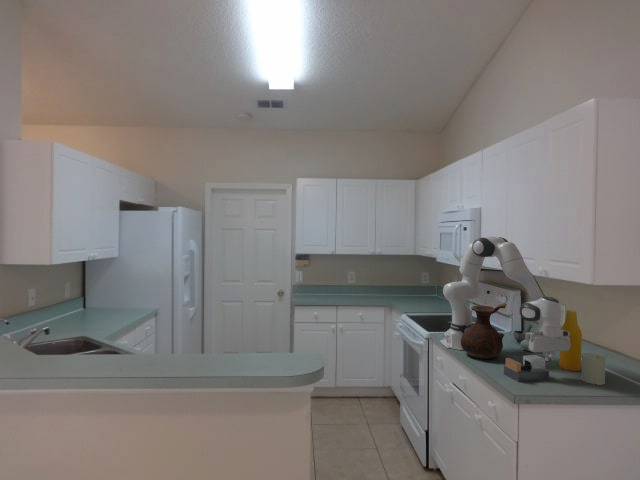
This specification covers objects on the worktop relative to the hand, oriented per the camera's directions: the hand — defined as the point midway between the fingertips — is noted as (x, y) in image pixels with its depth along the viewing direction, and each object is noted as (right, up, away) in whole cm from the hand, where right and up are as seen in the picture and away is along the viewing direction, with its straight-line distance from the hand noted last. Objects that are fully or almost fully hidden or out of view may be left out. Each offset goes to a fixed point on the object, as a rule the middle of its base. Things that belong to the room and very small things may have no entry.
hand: (548, 360), depth 190 cm
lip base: (-12, -7, -3) cm, 14 cm away
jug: (-20, -7, +29) cm, 36 cm away
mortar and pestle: (+16, -7, +57) cm, 59 cm away
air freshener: (+13, -7, +42) cm, 44 cm away
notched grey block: (-8, -3, -2) cm, 9 cm away
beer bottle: (+17, -7, +11) cm, 21 cm away
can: (+16, -8, -7) cm, 19 cm away
